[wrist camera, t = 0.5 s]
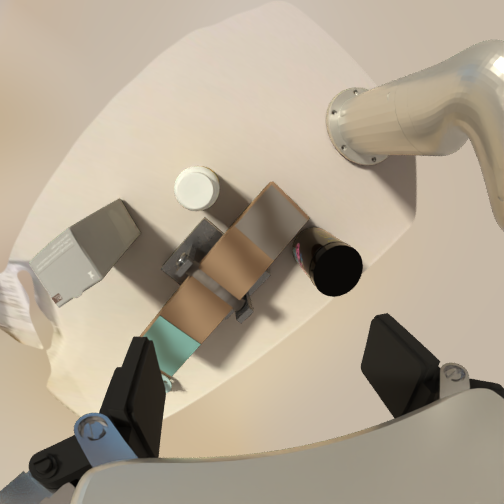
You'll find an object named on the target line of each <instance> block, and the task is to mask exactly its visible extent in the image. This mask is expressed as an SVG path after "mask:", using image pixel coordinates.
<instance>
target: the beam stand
mask: <svg viewBox="0 0 504 504" xmlns="http://www.w3.org/2000/svg"><path fill="white" fill-rule="evenodd" d="M223 235H224V233H222V232H221V231H220V230H219V229H218V228H217V227H215V226H214V225H213V224H212V223H211V222H210V221H209V220H207V219H206V218H205V217H204V218H203V219H202V221H201V222H200V223H199V224H198V225H197V226H196V227H195V228H194V230H193V231H192V232H191V233H190V234H189V235H188V237H187V238H186V239H185V240H184V241H183V242H182V244H181V245H180V246H179V247H178V248H177V249H176V251H175V252H174V253H173V254H172V255H171V257H170V258H169V259H168V260H167V261H166V263H165V264H164V265H163V266H162V268H161V270H163V271H164V272H165V273H166V274H168V275H169V276H170V277H171V278H173V279H174V280H175V281H176V282H178V283H179V284H180V285H182V283H183V282H184V281H185V280H186V278H187V277H188V276H189V275H188V274H186V273H185V272H186V271H187V269H188V268H189V267H190V266H191V265H192V264H193V261H194V260H195V261H196V262H198V263H200V262H201V261H202V259H203V258H204V257H205V256H206V255H207V253H208V252H209V251H210V250H211V249H212V248H213V246H214V245H215V244H216V243H217V242H218V241H219V239H220V238H221V237H222V236H223ZM269 276H270V274H269V272H267V271H265V272H264V273H263V274H262V275H261V276H260V278H259V279H258V280H257V281H256V282H255V283H254V285H253V286H252V287H251V288H250V289H249V290H248V292H247V293H246V294H245V295H244V296H243V297H242V298H243V299H244V300H245V303H244V305H243V307H242V308H241V309H240V310H239V311H237V312H236V311H235V312H236V319H237V321H238V322H240V323H242V322H243V321H244V320H245V319H246V318H247V317H249V316H250V315H251V314H252V313H253V312H254V311H253V310H254V308H253V307H252V303H251V299H250V296H251V295H252V294H253V293H254V292H255V291H256V290H257V289H258V288H259V287H260V286H261V284H262V283H263V282H264V281H265V280H266V279H267V278H268V277H269ZM233 312H234V310H233V309H232V310H231V311H230V312H229V313H228V314H227V316H226V317H225V319H227V318H228V317H229V316H230V315H231V314H232V313H233Z"/></svg>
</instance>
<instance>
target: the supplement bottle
mask: <svg viewBox="0 0 504 504" xmlns="http://www.w3.org/2000/svg"><path fill="white" fill-rule="evenodd" d="M219 191H220V186H219V180H218V177H217V175H216V174H215V173H214V172H213V171H212V170H211V169H209V168H207V167H204V166H193V167H189V168H187V169H185V170H184V171H182V172H181V173H180V174H179V176H178V177H177V179H176V181H175V185H174V193H175V197H176V199H177V201H178V202H179V203H180V205H182V206H183V207H184V208H186V209H188V210H191V211H202V210H205V209H207V208H209V207H210V206H212V205H213V204H214V203H215V201H216V200H217V198H218V195H219Z"/></svg>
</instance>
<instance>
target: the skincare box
mask: <svg viewBox="0 0 504 504" xmlns="http://www.w3.org/2000/svg"><path fill="white" fill-rule="evenodd" d="M140 234H141V232H140V231H139V229H138V228H137V226H136V224H135V223H134V221H133V219H132V218H131V216H130V214H129V213H128V211H127V209H126V208H125V206H124V204H123V203H122V201H121V199H120V198H119V199H117V200H116V201H114V202H112V203H110V204H108V205H107V206H105V207H103V208H101V209H100V210H98V211H96V212H94V213H93V214H91V215H89V216H87V217H86V218H84V219H82V220H81V221H79V222H77V223H76V224H74V225H72V226H71V227H69V228H67V229H66V230H65V231H63V232H62V233H61V234H60V235H58V236H57V237H56V238H55V239H54V240H52V241H51V242H50V243H49V244H48V245H47V246H45V247H44V248H43V249H42V250H41V251H40V252H39V253H38V254H37V255H36V256H35V257H34V258H33V259H32V260H31V261H30V262H29V264H30V266H31V268H32V269H33V271H34V273H35V274H36V276H37V277H38V279H39V280H40V282H41V283H42V285H43V286H44V288H45V289H46V291H47V292H48V294H49V295H50V296H51V298H52V299H53V301H54V302H55V304H56V305H57V306H58V307H59V308H60V307H61V306H63V305H64V304H66V303H67V302H69V301H70V300H72V299H73V298H78V297H80V296H81V295H82V293H83V292H84V291H86V290H87V289H89V288H90V287H92V286H93V285H95V284H96V283H98V282H100V281H101V280H102V279H103V278H104V277H105V276H106V274H107V273H108V272H109V271H110V269H111V268H112V267H113V266H114V264H115V263H116V262H117V261H118V260H119V258H120V257H121V256H122V255H123V254H124V252H125V251H126V250H127V249H128V248H129V246H130V245H131V244H132V243H133V242H134V241H135V239H136V238H137V237H138V236H139V235H140Z"/></svg>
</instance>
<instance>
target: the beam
mask: <svg viewBox="0 0 504 504" xmlns="http://www.w3.org/2000/svg"><path fill="white" fill-rule="evenodd" d="M309 219H310V218H309V217H308V216H307V215H306V214H305V213H304V212H303V211H302V210H301V209H300V208H299V206H298V205H297V204H296V203H295V202H294V201H293V200H292V199H291V198H290V197H289V196H288V195H287V194H285V193H284V192H283V191H282V190H281V189H280V188H279V187H278V186H277V185H276V184H275V183H274V182H270V183H269V184H268V185H267V186H266V187H265V188H264V189H263V190H262V191H261V193H260V194H259V195H258V196H257V197H256V198H255V199H254V200H253V202H252V203H251V204H250V205H249V206H248V207H247V208H246V209H245V211H244V212H243V213H242V214H241V215H240V216H239V217H238V219H237V220H236V221H235V222H234V223H233V224H232V225H231V227H230V228H229V229H228V230H227V231H226V232H225V234H224V235H223V236H222V237H221V238H220V239H219V241H218V242H217V243H216V244H215V245H214V246H213V248H212V249H211V250H210V251H209V252H208V253H207V255H206V256H205V257H204V258H203V259H202V261H201V262H200V263H198V262H196V261H195V260H194V261H193V264H192V265H191V266H190V267H189V268H188V269H187V271H186V272H185V273H186V274H188V275H189V276H188V277H187V278H186V280H185V281H184V282H183V283H182V285H181V286H180V287H179V288H178V289H177V291H176V292H175V293H174V294H173V295H172V297H171V298H170V299H169V300H168V302H167V303H166V304H165V305H164V307H163V308H162V309H161V310H160V312H159V313H158V314H157V315H156V316H155V318H154V319H153V320H152V322H151V323H150V324H149V325H148V327H147V328H146V329H145V330H144V332H143V333H142V334H141V335H140V337H148V339H149V340H152V341H153V343H154V347H155V351H156V355H157V359H158V363H159V367H160V371H161V373H162V374H164V375H166V376H167V377H169V378H171V377H172V376H173V375H174V374H175V372H176V371H177V370H178V369H179V368H180V367H181V366H182V365H183V364H184V363H185V361H186V360H187V359H188V358H189V357H190V356H191V355H192V354H193V353H194V351H195V350H196V349H197V348H198V347H199V346H200V345H201V344H202V343H203V341H204V340H205V339H206V338H207V337H208V336H209V335H210V334H211V332H212V331H213V330H214V329H215V328H216V327H217V326H218V325H219V323H220V322H221V321H222V320H223V319H224V318H225V317H226V316H227V314H228V313H229V312H230V311H231V310H232V309H233V310H234V311H236V312H237V311H239V310H240V309H241V308H242V307H243V305H244V303H245V300H244V299H243V298H242V297H243V296H244V295H245V294H246V293H247V292H248V290H249V289H250V288H251V287H252V286H253V285H254V283H255V282H256V281H257V280H258V279H259V278H260V276H261V275H262V274H263V273H264V272H265V271H266V269H267V268H268V267H269V266H270V265H271V264H272V262H273V261H274V260H275V259H276V258H277V257H278V255H279V254H280V253H281V252H282V251H283V250H284V248H285V247H286V246H287V245H288V244H289V242H290V241H291V240H292V239H293V238H294V236H295V235H296V234H297V233H298V232H299V231H300V229H301V228H302V227H303V226H304V225H305V223H306V222H307V221H308V220H309Z"/></svg>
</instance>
